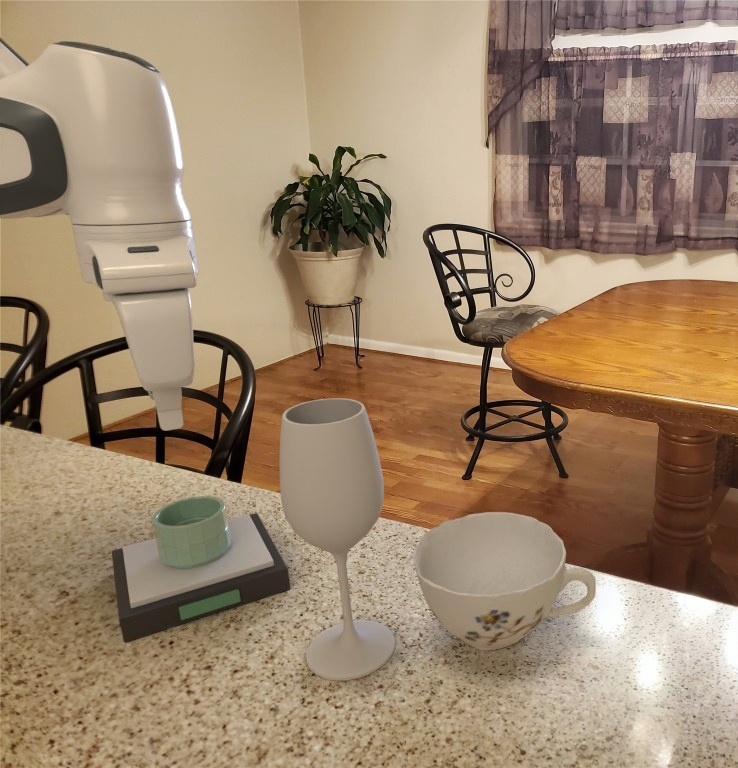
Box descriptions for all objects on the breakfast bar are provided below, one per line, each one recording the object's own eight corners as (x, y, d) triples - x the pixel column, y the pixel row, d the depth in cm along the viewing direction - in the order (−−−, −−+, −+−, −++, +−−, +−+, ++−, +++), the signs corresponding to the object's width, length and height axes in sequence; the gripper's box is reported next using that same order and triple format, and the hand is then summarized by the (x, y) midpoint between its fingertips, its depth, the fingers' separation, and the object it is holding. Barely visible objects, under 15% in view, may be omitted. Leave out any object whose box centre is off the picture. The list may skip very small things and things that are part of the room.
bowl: (164, 578, 62) (155, 534, 61) (157, 548, 67) (149, 507, 66) (237, 558, 65) (230, 515, 64) (225, 530, 70) (218, 490, 69)
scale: (124, 645, 58) (117, 614, 57) (116, 571, 69) (110, 545, 68) (291, 591, 65) (287, 563, 64) (260, 532, 76) (256, 507, 75)
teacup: (396, 669, 54) (388, 582, 52) (445, 580, 66) (440, 505, 64) (585, 696, 51) (586, 604, 49) (601, 597, 63) (603, 519, 60)
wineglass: (283, 668, 55) (246, 422, 48) (340, 613, 61) (314, 390, 55) (363, 692, 52) (335, 435, 46) (414, 632, 59) (395, 400, 52)
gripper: (93, 247, 65) (119, 387, 69) (100, 274, 48) (134, 456, 52) (166, 243, 68) (187, 377, 72) (198, 267, 51) (222, 439, 55)
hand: (165, 411), depth 62 cm, fingers open, 8 cm apart
